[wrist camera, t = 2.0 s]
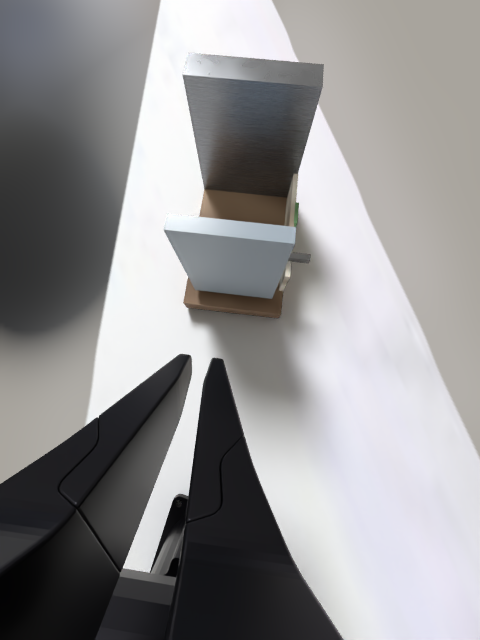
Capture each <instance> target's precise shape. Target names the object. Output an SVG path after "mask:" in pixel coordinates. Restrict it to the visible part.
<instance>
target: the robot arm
mask: <svg viewBox="0 0 480 640" xmlns="http://www.w3.org/2000/svg"><path fill="white" fill-rule="evenodd" d="M191 376H192V358H191V356H190V355H186V354H179V355H178V356H176V357H175V358H174V359H173V360H171V361H170V362H169V363H167V364H166V365H165V366H163V367H162V368H161V369H159V370H158V371H157V372H156V373H154V374H153V375H152V376H150V377H149V378H148V379H146V380H145V381H144V382H143V383H141V384H140V385H139V386H137V387H136V388H135V389H133V390H132V391H131V392H129V393H128V394H127V395H126V396H124V397H123V398H122V399H120V400H119V401H118V402H116V403H115V404H114V405H112V406H111V407H110V408H109V409H107V410H106V411H105V412H103V413H102V414H101V415H99V418H98V417H97V418H95V419H94V420H93V421H91V422H90V423H89V424H88V425H86V426H85V427H84V428H82V429H81V430H79V431H78V432H77V433H75V434H74V435H73V436H71V437H70V438H69V439H67V440H66V441H64V442H63V443H62V444H60V445H58V446H57V447H56V448H54V449H53V450H51V451H50V452H48V453H47V454H45V455H44V456H42V457H41V458H39V459H38V460H36V461H35V462H33V463H32V464H30V465H29V466H27V467H25V468H24V469H22V470H21V471H19V472H18V473H16V474H15V475H13V476H12V477H10V478H9V479H7V480H6V481H4V482H3V483H1V484H0V640H343V638H342V637H341V635H340V633H339V632H338V630H337V629H336V627H335V626H334V624H333V623H332V621H331V620H330V618H329V617H328V615H327V613H326V612H325V610H324V609H323V607H322V606H321V604H320V603H319V601H318V600H317V598H316V597H315V595H314V593H313V592H312V590H311V589H310V587H309V586H308V584H307V583H306V581H305V580H304V578H303V576H302V575H301V573H300V571H299V569H298V568H297V566H296V564H295V562H294V560H293V558H292V556H291V554H290V552H289V550H288V548H287V545H286V543H285V541H284V539H283V536H282V534H281V532H280V529H279V527H278V524H277V522H276V520H275V517H274V515H273V513H272V510H271V508H270V505H269V503H268V501H267V498H266V496H265V493H264V491H263V489H262V486H261V484H260V481H259V479H258V476H257V473H256V471H255V468H254V466H253V462H252V459H251V456H250V453H249V450H248V446H247V443H246V439H245V437H244V433H243V429H242V425H241V422H240V418H239V415H238V411H237V407H236V404H235V400H234V397H233V393H232V390H231V386H230V382H229V379H228V375H227V372H226V368H225V365H224V361H223V359H219V358H212V359H211V362H210V365H209V368H208V371H207V374H206V376H205V379H204V383H203V389H202V397H201V405H200V412H199V420H198V428H197V435H196V443H195V451H194V458H193V466H192V474H191V481H190V489H189V496H186V495H183V494H178V495H176V496H175V498H174V500H173V502H172V505H171V508H170V512H169V515H168V518H167V521H166V524H165V527H164V530H163V533H162V536H161V539H160V543H159V546H158V549H157V552H156V555H155V558H154V561H153V564H152V567H151V571H150V573H147V572H141V571H135V570H129V569H123V565H124V563H125V560H126V558H127V555H128V553H129V550H130V547H131V545H132V542H133V540H134V537H135V534H136V532H137V529H138V527H139V524H140V521H141V519H142V516H143V514H144V511H145V508H146V506H147V503H148V501H149V498H150V496H151V493H152V490H153V488H154V485H155V483H156V480H157V477H158V475H159V472H160V470H161V467H162V464H163V462H164V459H165V457H166V454H167V451H168V449H169V446H170V444H171V441H172V439H173V436H174V433H175V431H176V428H177V426H178V423H179V420H180V417H181V414H182V411H183V407H184V403H185V399H186V396H187V392H188V388H189V384H190V380H191ZM177 500H181V502H182V504H178V503H177Z"/></svg>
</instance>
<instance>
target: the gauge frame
mask: <svg viewBox="0 0 480 640" xmlns="http://www.w3.org/2000/svg"><path fill="white" fill-rule="evenodd" d="M297 181H298V174H293V178H292V181H291V185H290V189H289V193H288V197H287V198H285V197H275V196H266V195H256V194H246V193H236V192H227V191H217V190H207V189H204V195H203V200H202V205H201V211H200V216H199V217H206V218H215V219H224V220H234V221H243V222H253V223H262V224H272V225H281V226H290V227H296V225H297V221H298V208H299V203H296V195H297ZM290 273H291V261H288V262H287V264H286V266H285V269H284V271H283V274H282V276H281V278H280V281H279V283H278V286H277V288H276V290H275V293H274V295H273V298H272V299H269V298H260V297H252V296H243V295H234V294H226V293H217V292H208V291H200V290H195V289H194V287H193V285H192V283H191V281H190V279H189V277H188V281H187V286H186V291H185V297H184V302H183V303H184V304H185V306H186V307H187V308H195V309H204V310H212V311H221V312H229V313H238V314H246V315H255V316H263V317H272V318H279V317H280V315H281V309H282V297H283V290H284V288H285V286H286V284H287V282H288V280H289V278H290Z"/></svg>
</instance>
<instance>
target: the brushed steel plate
mask: <svg viewBox="0 0 480 640" xmlns="http://www.w3.org/2000/svg"><path fill="white" fill-rule="evenodd" d="M323 67H324V65H323V64H312V63H301V62H289V61H277V60H266V59H254V58H243V57H231V56H220V55H208V54H196V53H188V55H187V59H186V63H185V67H184V71H183V79H184V84H185V89H186V95H187V100H188V105H189V110H190V116H191V121H192V126H193V131H194V137H195V142H196V147H197V152H198V158H199V163H200V168H201V173H202V179H203V184H204V189H207V190H217V191H227V192H236V193H246V194H256V195H266V196H275V197H285V198H287V197H288V193H289V189H290V185H291V181H292V178H293V174H298V171H299V167H300V164H301V160H302V157H303V153H304V150H305V146H306V143H307V139H308V136H309V132H310V129H311V125H312V122H313V118H314V115H315V111H316V108H317V104H318V101H319V97H320V94H321V90H322V86H323Z"/></svg>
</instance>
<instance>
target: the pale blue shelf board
mask: <svg viewBox="0 0 480 640" xmlns="http://www.w3.org/2000/svg"><path fill="white" fill-rule="evenodd" d="M164 231H165V233H166V235H167V237H168V239H169V241H170V243H171V245H172V247H173V249H174V250H175V252H176V254H177V256H178V258H179V260H180V262H181V264H182V266H183V268H184V270H185V271H186V273H187V275H188V277H189V279H190V281H191V283H192V285H193V287H194V289H195V290H200V291H208V292H217V293H226V294H234V295H243V296H252V297H260V298H269V299H272V298H273V295H274V293H275V290H276V288H277V286H278V283H279V281H280V278H281V276H282V274H283V271H284V269H285V266H286V264H287V262H288V261H292V262H301V263H309V261H310V255H311V254H302V253H293V252H292V250H293V247H294V245H295V237H296V227H290V226H281V225H272V224H262V223H253V222H243V221H234V220H224V219H215V218H206V217H196V216H187V215H177V214H168V213H167V216H166V221H165V225H164Z"/></svg>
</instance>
